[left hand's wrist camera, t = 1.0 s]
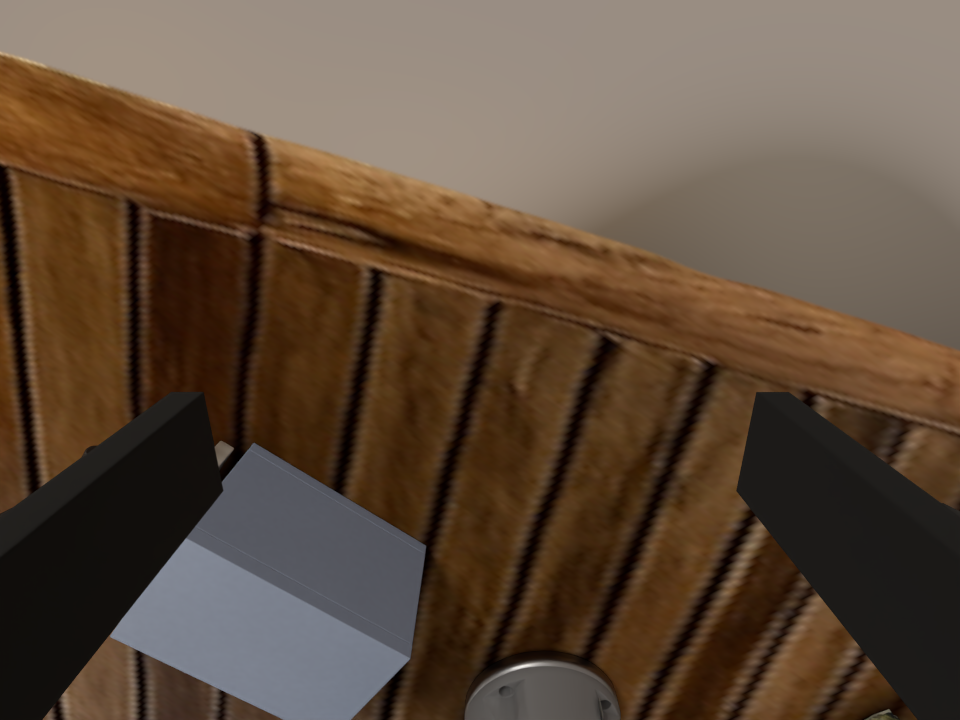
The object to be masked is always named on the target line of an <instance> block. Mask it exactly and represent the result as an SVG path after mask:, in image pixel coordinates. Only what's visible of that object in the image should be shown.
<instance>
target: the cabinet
mask: <svg viewBox="0 0 960 720" xmlns="http://www.w3.org/2000/svg"><path fill="white" fill-rule="evenodd" d="M222 486H223V490H224V491H223V492H222V493H221V495H220V496H219V497H218V499H217V500H216V501H215V502H214V504H213V505H212V506H211V507H210V509H209V510H208V511H207V512H206V514H205V515H204V516H203V517H202V519H201V520H200V521H199V522H198V524H197V525H196V526H195V528H194V529H193V530H192V531H191V533H190V534H189V535H188V536H187V538H186V539H185V540H184V541H183V543H182V544H181V545H180V546H179V548H178V549H177V550H176V552H175V553H174V554H173V555H172V557H171V558H170V559H169V560H168V562H167V563H166V564H165V565H164V567H163V568H162V569H161V570H160V572H159V573H158V574H157V575H156V577H155V578H154V579H153V581H152V582H151V583H150V584H149V586H148V587H147V588H146V589H145V591H144V592H143V593H142V594H141V596H140V597H139V598H138V599H137V601H136V602H135V603H134V605H133V606H132V607H131V608H130V610H129V611H128V612H127V613H126V615H125V616H124V617H123V618H122V620H121V621H120V622H119V624H118V625H117V627H116V628H115V630H114V631H113V633H112V634H111V636H110V637H111V638H113V639H115V640H118V641H120V642H122V643H124V644H126V645H128V646H130V647H132V648H134V649H136V650H139V651H141V652H143V653H145V654H147V655H149V656H151V657H153V658H155V659H157V660H160V661H162V662H164V663H166V664H168V665H170V666H172V667H174V668H176V669H178V670H181V671H183V672H185V673H187V674H189V675H191V676H193V677H195V678H197V679H199V680H202V681H204V682H206V683H208V684H210V685H212V686H214V687H216V688H218V689H220V690H223V691H225V692H227V693H229V694H231V695H233V696H235V697H237V698H239V699H241V700H243V701H246V702H248V703H250V704H252V705H254V706H256V707H258V708H260V709H262V710H264V711H267V712H269V713H271V714H273V715H275V716H277V717H279V718H281V719H283V720H351V719H352V718H353V717H354V716H355V715H356V714H357V713H358V712H359V711H360V710H361V709H362V708H363V707H364V706H365V705H366V704H367V703H368V702H369V701H370V700H371V699H372V698H373V696H374V695H375V694H376V693H377V692H378V691H379V690H380V689H381V688H382V687H383V686H384V685H385V684H386V683H387V682H388V681H389V680H390V679H391V678H392V677H393V676H394V675H395V674H396V673H397V672H398V671H399V670H400V669H401V668H402V667H403V666H404V665H405V664H406V663H407V662H408V661H409V660H410V658H411V651H412V643H413V636H414V629H415V622H416V615H417V608H418V601H419V594H420V587H421V580H422V573H423V566H424V559H425V552H426V545H424V544H422V543H421V542H419V541H417V540H416V539H414V538H412V537H411V536H409V535H407V534H406V533H404V532H402V531H401V530H399V529H397V528H396V527H394V526H392V525H391V524H389V523H387V522H386V521H384V520H382V519H381V518H379V517H377V516H376V515H374V514H372V513H371V512H369V511H367V510H366V509H364V508H362V507H361V506H359V505H357V504H356V503H354V502H352V501H351V500H349V499H347V498H346V497H344V496H342V495H341V494H339V493H337V492H336V491H334V490H332V489H331V488H329V487H327V486H325V485H324V484H322V483H320V482H319V481H317V480H315V479H314V478H312V477H310V476H309V475H307V474H305V473H304V472H302V471H300V470H299V469H297V468H295V467H294V466H292V465H290V464H289V463H287V462H285V461H284V460H282V459H280V458H279V457H277V456H275V455H274V454H272V453H270V452H269V451H267V450H265V449H264V448H262V447H260V446H259V445H257V444H255V443H253V444H252V446H251V447H250V448H249V449H248V451H247V452H246V453H245V454H244V455H243V457H242V458H241V459H240V460H239V462H238V463H237V464H236V465H235V467H234V468H233V469H232V470H231V471H230V473H229V474H228V475H227V476H226V478H225V479H224V480H223V481H222Z"/></svg>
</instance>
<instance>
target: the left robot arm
mask: <svg viewBox="0 0 960 720" xmlns="http://www.w3.org/2000/svg"><path fill="white" fill-rule="evenodd" d="M223 491H224V490H223V486H222V481H221V476H220V471H219V466H218V461H217V456H216V451H215V446H214V441H213V436H212V432H211V427H210V422H209V417H208V412H207V407H206V402H205V397H204V392H171V393H169V394H168V395H167V396H165V397H164V398H163V399H161V400H160V401H159V402H157V403H156V404H154V405H153V406H152V407H150V408H149V409H148V410H146V411H145V412H143V413H142V414H141V415H139V416H138V417H137V418H135V419H134V420H132V421H131V422H130V423H128V424H127V425H126V426H124V427H123V428H121V429H120V430H119V431H117V432H116V433H115V434H113V435H112V436H110V437H109V438H108V439H106V440H105V441H104V442H102V443H101V444H99V445H98V446H97V447H95V448H94V449H93V450H91V451H90V452H89V453H87V454H86V455H84V456H83V457H82V458H80V459H79V460H78V461H76V462H75V463H73V464H72V465H71V466H69V467H68V468H67V469H65V470H64V471H62V472H61V473H60V474H58V475H57V476H56V477H54V478H53V479H51V480H50V481H49V482H47V483H46V484H45V485H43V486H42V487H40V488H39V489H38V490H36V491H35V492H34V493H32V494H31V495H29V496H28V497H27V498H25V499H24V500H23V501H21V502H20V503H19V504H17V505H16V506H14V507H13V508H11V509H9V510H7V511H5V512H3V513H1V514H0V720H42V719H43V718H44V717H45V716H46V714H47V713H48V712H49V711H50V709H51V708H52V707H53V705H54V704H55V703H56V702H57V700H58V699H59V698H60V697H61V695H62V694H63V693H64V692H65V690H66V689H67V688H68V687H69V685H70V684H71V683H72V681H73V680H74V679H75V678H76V676H77V675H78V674H79V673H80V671H81V670H82V669H83V668H84V666H85V665H86V664H87V663H88V661H89V660H90V659H91V658H92V656H93V655H94V654H95V652H96V651H97V650H98V649H99V647H100V646H101V645H102V644H103V642H104V641H105V640H106V639H107V637H108V636H109V635H110V634H111V632H112V631H113V630H114V628H115V627H116V626H117V625H118V623H119V622H120V621H121V620H122V618H123V617H124V616H125V615H126V613H127V612H128V611H129V610H130V608H131V607H132V606H133V605H134V603H135V602H136V601H137V599H138V598H139V597H140V596H141V594H142V593H143V592H144V591H145V589H146V588H147V587H148V586H149V584H150V583H151V582H152V581H153V579H154V578H155V577H156V575H157V574H158V573H159V572H160V570H161V569H162V568H163V567H164V565H165V564H166V563H167V562H168V560H169V559H170V558H171V557H172V555H173V554H174V553H175V552H176V550H177V549H178V548H179V546H180V545H181V544H182V543H183V541H184V540H185V539H186V538H187V536H188V535H189V534H190V533H191V531H192V530H193V529H194V528H195V526H196V525H197V524H198V522H199V521H200V520H201V519H202V517H203V516H204V515H205V514H206V512H207V511H208V510H209V509H210V507H211V506H212V505H213V504H214V502H215V501H216V500H217V499H218V497H219V496H220V495H221V493H222V492H223ZM736 491H737V492H738V493H739V495H740V496H741V497H742V499H743V500H744V501H745V502H746V504H747V505H748V506H749V507H750V509H751V510H752V511H753V512H754V514H755V515H756V516H757V517H758V519H759V520H760V521H761V522H762V524H763V525H764V526H765V528H766V529H767V530H768V531H769V533H770V534H771V535H772V536H773V538H774V539H775V540H776V541H777V543H778V544H779V545H780V546H781V548H782V549H783V550H784V552H785V553H786V554H787V555H788V557H789V558H790V559H791V560H792V562H793V563H794V564H795V565H796V567H797V568H798V569H799V570H800V572H801V573H802V574H803V575H804V577H805V578H806V579H807V581H808V582H809V583H810V584H811V586H812V587H813V588H814V589H815V591H816V592H817V593H818V594H819V596H820V597H821V598H822V599H823V601H824V602H825V603H826V605H827V606H828V607H829V608H830V610H831V611H832V612H833V613H834V615H835V616H836V617H837V618H838V620H839V621H840V622H841V623H842V625H843V626H844V627H845V628H846V630H847V631H848V632H849V634H850V635H851V636H852V637H853V639H854V640H855V641H856V642H857V644H858V645H859V646H860V647H861V649H862V650H863V651H864V652H865V654H866V655H867V656H868V658H869V659H870V660H871V661H872V663H873V664H874V665H875V666H876V668H877V669H878V670H879V671H880V673H881V674H882V675H883V676H884V678H885V679H886V680H887V681H888V683H889V684H890V685H891V687H892V688H893V689H894V690H895V692H896V693H897V694H898V695H899V697H900V698H901V699H902V700H903V702H904V703H905V704H906V705H907V707H908V708H909V709H910V711H911V712H912V713H913V714H914V716H915V717H916V718H917V719H918V720H960V511H958V510H956V509H954V508H952V507H950V506H948V505H946V504H944V503H940V502H939V501H937V500H936V499H935V498H933V497H932V496H931V495H929V494H928V493H926V492H925V491H924V490H922V489H921V488H920V487H918V486H917V485H915V484H914V483H913V482H911V481H910V480H909V479H907V478H906V477H904V476H903V475H902V474H900V473H899V472H898V471H896V470H895V469H893V468H892V467H891V466H889V465H888V464H887V463H885V462H884V461H882V460H881V459H880V458H878V457H877V456H876V455H874V454H873V453H871V452H870V451H869V450H867V449H866V448H865V447H863V446H862V445H861V444H859V443H858V442H856V441H855V440H854V439H852V438H851V437H850V436H848V435H847V434H845V433H844V432H843V431H841V430H840V429H839V428H837V427H836V426H834V425H833V424H832V423H830V422H829V421H828V420H826V419H825V418H823V417H822V416H821V415H819V414H818V413H817V412H815V411H814V410H812V409H811V408H810V407H808V406H807V405H806V404H804V403H803V402H801V401H800V400H799V399H797V398H796V397H795V396H793V395H792V394H791V393H789V392H756V397H755V402H754V407H753V412H752V417H751V422H750V427H749V432H748V436H747V441H746V446H745V451H744V456H743V461H742V466H741V471H740V476H739V481H738V486H737V490H736ZM620 718H621V716H620V708H619V704H618V700H617V696H616V692H615V689H614V687H613V685H612V683H611V681H610V679H609V678H608V677H607V676H606V674H605V673H604V672H603V671H602V670H600V669H599V668H598V667H597V666H595V665H594V664H592V663H590V662H589V661H587V660H585V659H582V658H580V657H577V656H574V655H571V654H567V653H562V652H554V651H533V652H526V653H520V654H517V655H513V656H510V657H507V658H504V659H502V660H500V661H498V662H496V663H494V664H492V665H491V666H489V667H488V668H486V669H485V670H484V671H483V672H482V673H481V674H480V675H478V676H477V678H476V679H475V680H474V681H473V683H472V684H471V686H470V688H469V690H468V693H467V696H466V700H465V720H620Z"/></svg>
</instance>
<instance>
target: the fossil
mask: <svg viewBox="0 0 960 720" xmlns="http://www.w3.org/2000/svg"><path fill="white" fill-rule="evenodd" d="M865 720H900V719H899V718H898V717H896V716H895V715H893V714H892V712H891V711H890V710H889V709H888V710H885V711H882V712H880V713H877V714H874V715H872V716H870V717H869V718H867V719H865Z"/></svg>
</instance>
